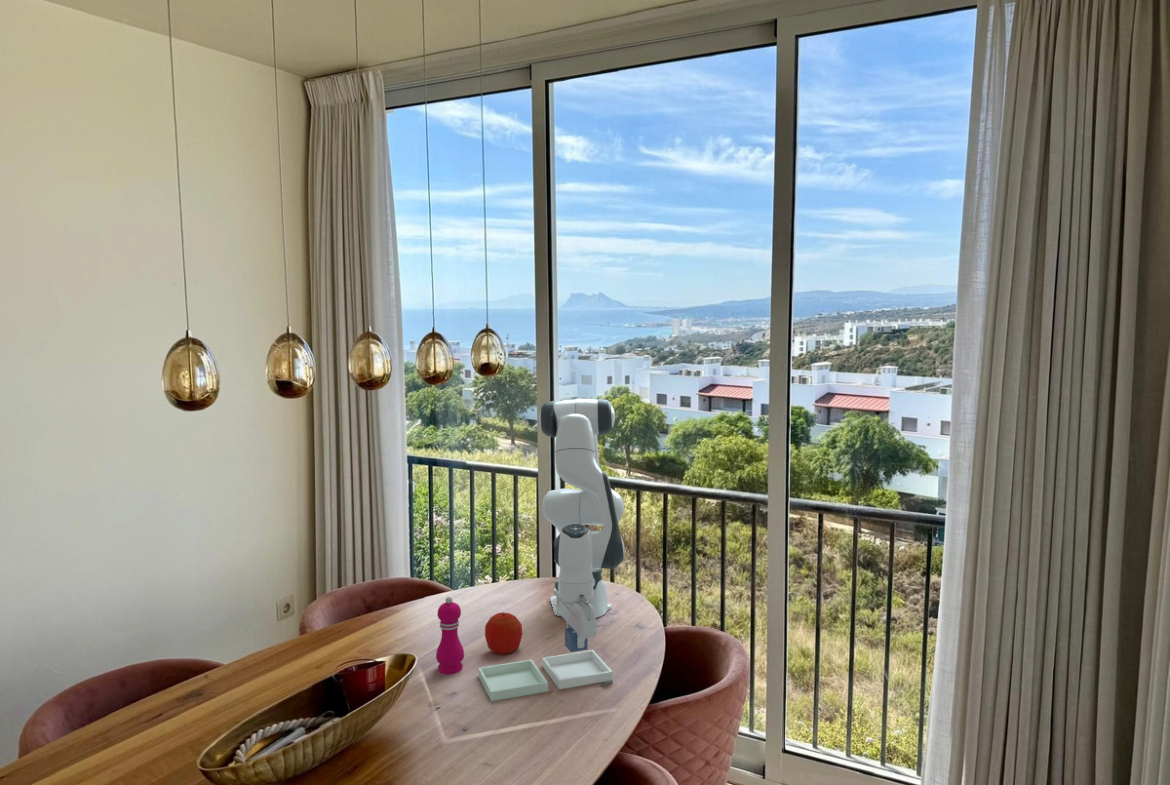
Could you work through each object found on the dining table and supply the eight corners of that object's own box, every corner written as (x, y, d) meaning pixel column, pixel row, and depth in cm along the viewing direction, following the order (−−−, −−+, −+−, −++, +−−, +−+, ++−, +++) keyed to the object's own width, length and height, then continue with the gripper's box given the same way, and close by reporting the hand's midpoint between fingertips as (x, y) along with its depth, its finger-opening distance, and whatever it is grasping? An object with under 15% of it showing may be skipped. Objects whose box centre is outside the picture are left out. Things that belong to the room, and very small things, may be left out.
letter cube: (565, 645, 200) (565, 628, 200) (581, 643, 202) (581, 625, 202) (570, 652, 196) (570, 634, 196) (587, 649, 198) (587, 631, 197)
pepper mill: (458, 679, 199) (457, 602, 197) (432, 676, 200) (430, 600, 198) (468, 666, 206) (467, 593, 204) (442, 664, 207) (441, 591, 205)
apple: (528, 648, 217) (528, 608, 216) (509, 662, 208) (508, 620, 207) (498, 642, 222) (497, 602, 221) (478, 655, 213) (477, 614, 212)
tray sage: (478, 679, 198) (478, 667, 198) (532, 670, 203) (531, 659, 203) (491, 704, 185) (491, 692, 185) (548, 694, 190) (548, 682, 190)
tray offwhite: (542, 668, 204) (542, 657, 204) (592, 660, 209) (592, 649, 209) (559, 692, 191) (559, 680, 191) (612, 683, 196) (612, 671, 195)
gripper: (602, 601, 189) (602, 656, 190) (574, 576, 208) (575, 627, 210) (577, 604, 187) (578, 660, 188) (552, 579, 206) (552, 630, 207)
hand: (576, 642), depth 199 cm, fingers closed on letter cube, 4 cm apart
